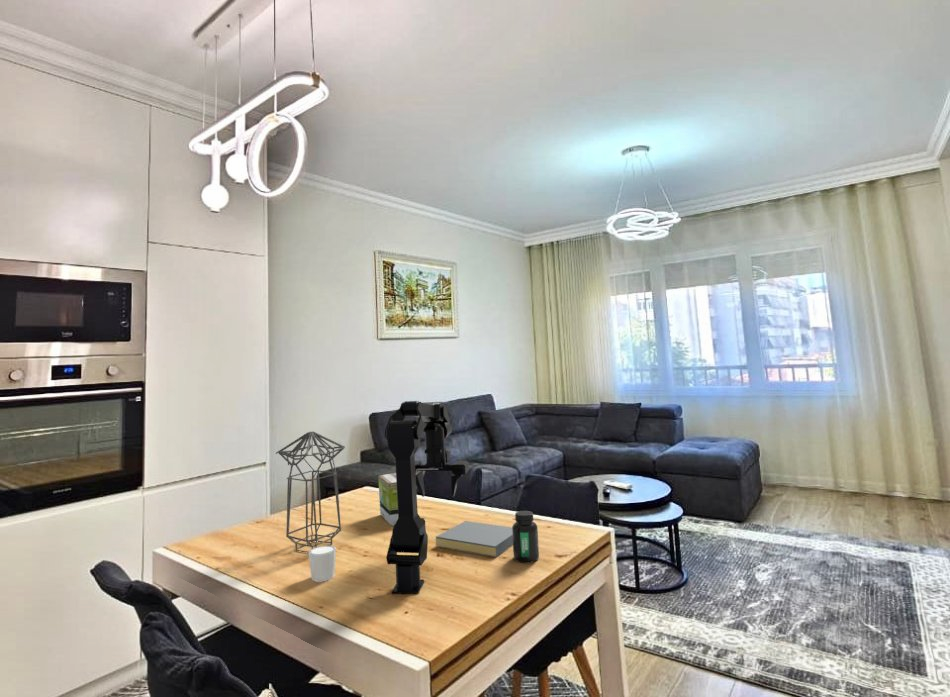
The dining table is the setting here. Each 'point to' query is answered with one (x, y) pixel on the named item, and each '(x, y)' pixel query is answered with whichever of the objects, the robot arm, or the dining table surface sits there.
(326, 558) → the white cylinder
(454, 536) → the gray hardcover book
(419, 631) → the dining table surface
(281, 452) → the geometric lantern
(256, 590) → the dining table surface
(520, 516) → the supplement bottle
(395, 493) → the tea box
